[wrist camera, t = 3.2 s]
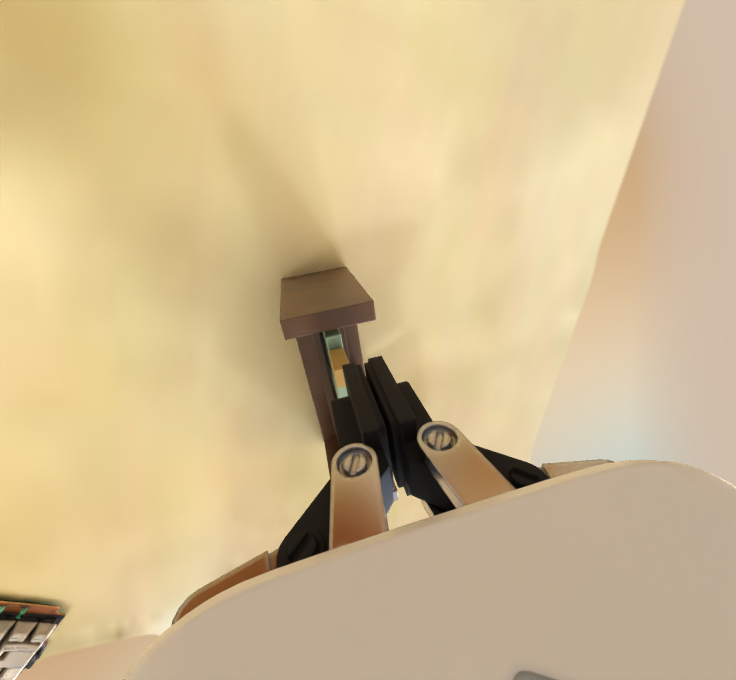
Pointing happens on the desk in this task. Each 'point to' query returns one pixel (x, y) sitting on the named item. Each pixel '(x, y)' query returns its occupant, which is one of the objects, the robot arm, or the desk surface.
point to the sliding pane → (336, 359)
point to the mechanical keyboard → (24, 635)
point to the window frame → (307, 322)
